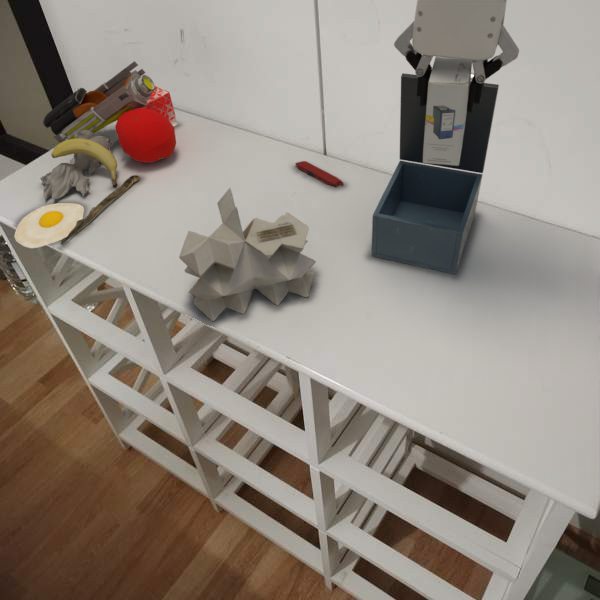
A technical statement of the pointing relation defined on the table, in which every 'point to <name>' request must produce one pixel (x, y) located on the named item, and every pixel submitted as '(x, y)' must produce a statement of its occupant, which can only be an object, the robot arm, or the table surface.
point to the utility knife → (319, 173)
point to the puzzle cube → (162, 104)
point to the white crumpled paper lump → (247, 261)
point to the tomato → (145, 135)
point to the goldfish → (73, 170)
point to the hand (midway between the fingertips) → (448, 102)
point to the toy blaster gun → (100, 104)
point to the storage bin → (425, 216)
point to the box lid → (474, 129)
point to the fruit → (88, 153)
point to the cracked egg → (48, 224)
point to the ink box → (446, 110)
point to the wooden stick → (101, 206)
